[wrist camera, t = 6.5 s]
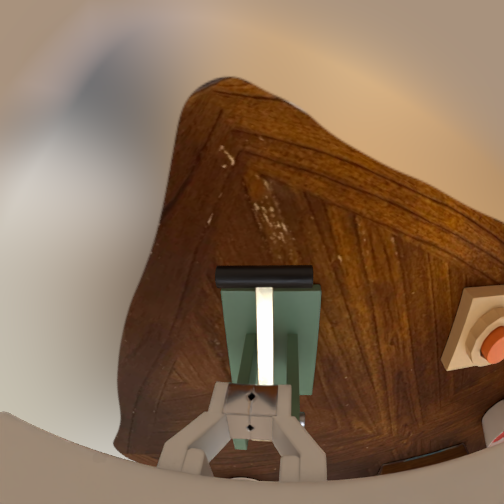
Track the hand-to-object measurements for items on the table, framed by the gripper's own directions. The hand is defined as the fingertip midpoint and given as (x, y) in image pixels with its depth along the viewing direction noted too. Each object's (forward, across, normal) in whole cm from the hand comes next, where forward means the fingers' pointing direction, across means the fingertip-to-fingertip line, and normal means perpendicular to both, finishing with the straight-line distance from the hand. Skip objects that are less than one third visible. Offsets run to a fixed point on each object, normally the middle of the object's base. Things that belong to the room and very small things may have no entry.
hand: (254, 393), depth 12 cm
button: (+13, -25, +10) cm, 30 cm away
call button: (+16, -25, +10) cm, 32 cm away
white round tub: (+16, -40, +31) cm, 53 cm away
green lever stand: (+16, 0, +11) cm, 20 cm away
